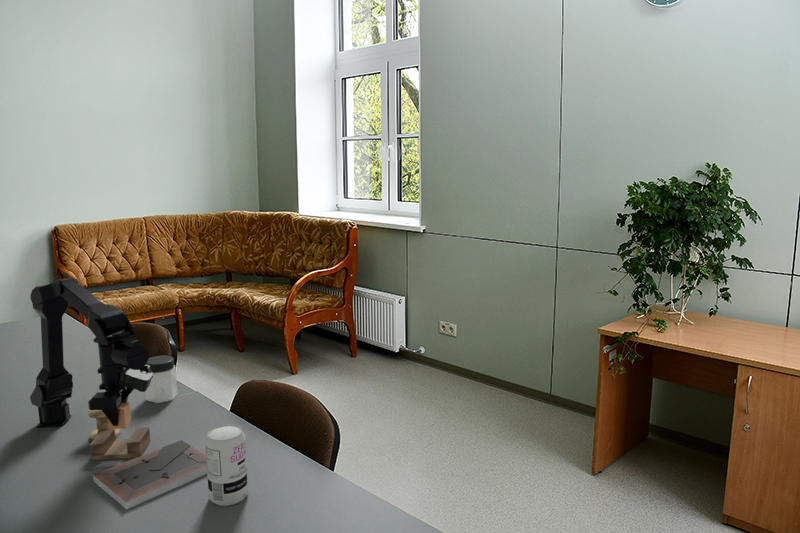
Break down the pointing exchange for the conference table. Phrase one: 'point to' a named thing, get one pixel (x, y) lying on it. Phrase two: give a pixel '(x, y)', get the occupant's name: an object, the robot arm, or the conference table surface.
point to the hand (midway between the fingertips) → (118, 421)
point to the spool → (100, 423)
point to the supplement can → (226, 465)
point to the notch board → (119, 444)
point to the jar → (162, 379)
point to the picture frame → (152, 474)
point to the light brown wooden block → (122, 417)
